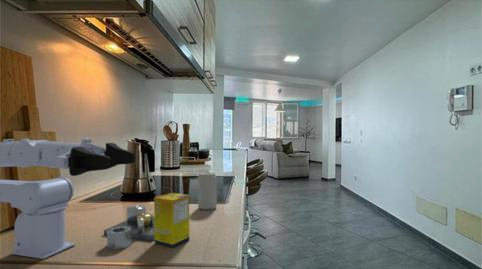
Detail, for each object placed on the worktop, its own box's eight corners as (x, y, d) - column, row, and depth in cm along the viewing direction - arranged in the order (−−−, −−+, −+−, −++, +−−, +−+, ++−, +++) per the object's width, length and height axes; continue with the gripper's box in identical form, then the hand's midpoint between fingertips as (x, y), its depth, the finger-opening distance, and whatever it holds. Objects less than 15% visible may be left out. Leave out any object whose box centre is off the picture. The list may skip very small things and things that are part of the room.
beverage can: (218, 205, 102) (218, 172, 102) (214, 210, 96) (214, 174, 96) (200, 205, 103) (200, 171, 103) (196, 210, 97) (195, 174, 97)
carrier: (103, 234, 74) (103, 214, 74) (138, 219, 87) (138, 201, 87) (153, 240, 70) (153, 219, 70) (181, 223, 83) (181, 205, 83)
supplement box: (171, 235, 73) (171, 192, 73) (190, 240, 70) (189, 194, 70) (153, 243, 68) (153, 196, 68) (172, 248, 65) (172, 199, 65)
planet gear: (102, 248, 65) (102, 232, 65) (117, 240, 70) (117, 225, 70) (120, 250, 64) (120, 234, 64) (135, 242, 69) (135, 227, 69)
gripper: (36, 139, 55) (96, 143, 52) (93, 135, 69) (143, 138, 66) (36, 176, 56) (96, 182, 52) (93, 164, 70) (142, 169, 66)
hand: (122, 160), depth 59 cm, fingers open, 7 cm apart
